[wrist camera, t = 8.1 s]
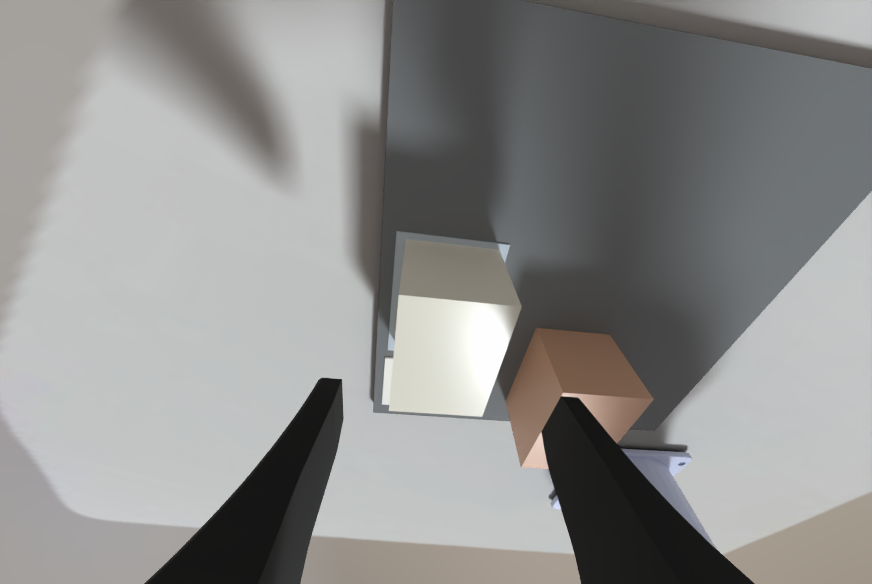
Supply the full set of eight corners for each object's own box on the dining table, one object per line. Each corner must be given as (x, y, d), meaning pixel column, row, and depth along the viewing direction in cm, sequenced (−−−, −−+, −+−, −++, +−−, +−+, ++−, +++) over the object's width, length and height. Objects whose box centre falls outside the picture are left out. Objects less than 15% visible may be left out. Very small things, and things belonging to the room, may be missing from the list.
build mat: (649, 422, 23) (655, 432, 22) (374, 404, 21) (372, 414, 20) (942, 86, 11) (971, 87, 11) (395, -21, 9) (393, -26, 9)
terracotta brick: (567, 405, 20) (594, 471, 17) (505, 401, 20) (521, 467, 17) (609, 334, 17) (653, 399, 14) (536, 327, 16) (563, 392, 13)
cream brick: (471, 349, 17) (482, 416, 14) (396, 343, 17) (388, 410, 14) (499, 249, 14) (521, 306, 11) (405, 239, 13) (398, 294, 10)
